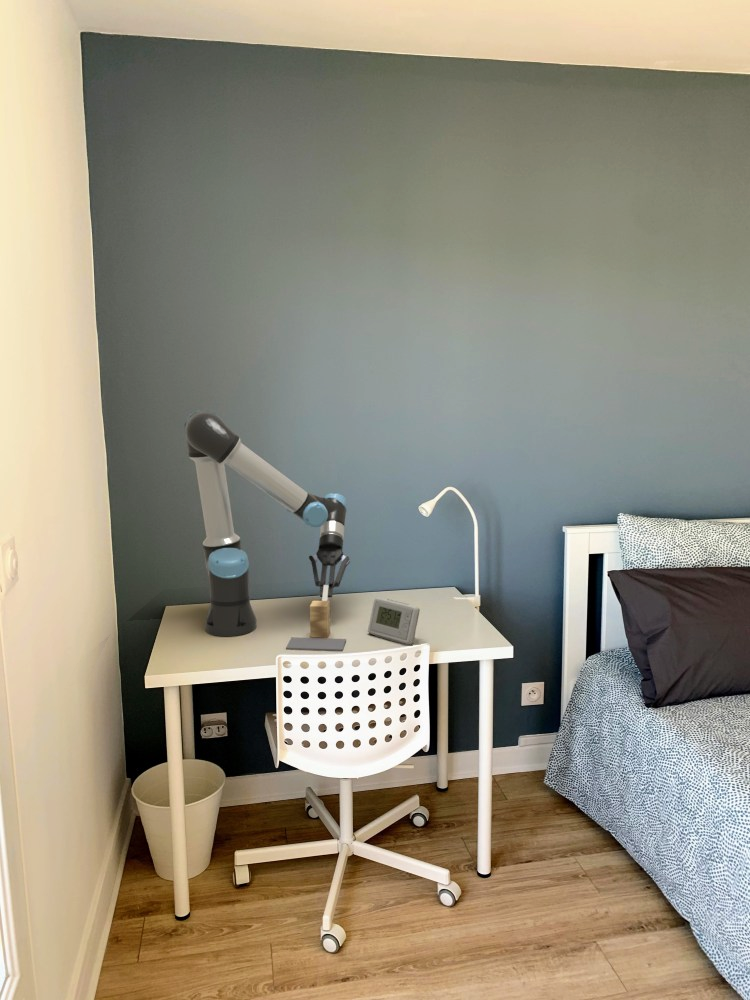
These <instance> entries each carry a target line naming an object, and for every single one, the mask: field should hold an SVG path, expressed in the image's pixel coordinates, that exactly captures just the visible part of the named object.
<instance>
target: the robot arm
mask: <svg viewBox="0 0 750 1000" xmlns="http://www.w3.org/2000/svg"><path fill="white" fill-rule="evenodd" d="M183 432H184V435H185V439H186V445H187V447H186V448H187V453H188V457H189V459H190V460H191V461H193V462H194V463H195V470H196V477H197V483H198V489H199V490H198V491H199V497H200V503H201V509H202V510H201V511H202V513H203V514H202V515H203V521H204V528H205V534H206V535H205V536H206V538H205V539H204V540H203V541H202V547H203V554H204V567H205V569H206V571H207V576H208V582H209V598H210V599H209V601H210V606H209V608H208V612H207V615H206V619H205V632H207V633H208V634H210V635H212V636H216V637H217V636H218V637H236V636H242V635H245V634H248V633H251V632H252V631H255V630H256V628H257V618H256V614H255V613H254V612H255V611H254V609H253V606H252V604H251V597H250V578H249V577H250V573H249V572H250V571H249V568H250V561H249V557H248V554H247V552H246V551H245V550H243V549H242V543H241V537H240V536H239V535H238V534H237V533H235V530H234V523H233V514H232V508H231V501H230V495H229V488H228V482H227V481H228V480H227V475H226V474H227V473H226V468H225V465H226V466H228V467H229V468H231V469H232V470H234V471H235V472H236V473H238V475H240V476H242V477H243V478H244V479H246V480H247V481H248V482H250V483H251V484H253V485H254V486H256V487H257V488H258V489H260V490H261V491H262V492H264V493H265V494H267V495H268V496H269V497H271V498H272V499H273V500H274V501H276V502H277V503H278V504H280V505H281V506H283V507H284V508H285V510H286V511H287V512H288V513H290V514H293V515H295V516H297V517H298V518H299V519H301V520H302V521H303V522H304V523H305V524H306V525H307V526H308V527H311V528H320V532H319V541H318V542H319V543H318V549H317V551H316V553H315V554H313V555H309V556H308V558H309V562H310V564H311V567H312V574H313V580H314V584H315V587H319V592H318V593H319V597H320V598H321V601H330V600H329V598H332V597H333V592H334V588H338V587H340V585H341V582H342V579H343V577H344V573H345V571H346V568H347V566H348V565H349V564H350V563H351V560H350V556H346V555H344V552H343V548H344V547H343V546H344V538H345V537H344V535H345V526H346V524H345V523H346V516H347V515H346V514H347V499H346V498H345V496H344V495H342V494H340V493H333V492H332V493H330V492H329V493H328V494H326V495H325V496H324V497H322V496H320V495H319V496H317V495H314V494H312V493H308V492H307V491H306V490H304V489H303V488H302V487H300V486H299V485H297V484H296V483H295V482H294V481H292V480H291V479H290V478H288V477H287V476H286V475H285V474H283V473H282V472H281V471H279V470H278V469H276V468H275V467H274V466H272V465H271V464H270V463H269V462H267V461H265V459H263V458H262V457H261V456H259V455H258V454H256V453H255V452H254V451H252V450H251V449H250V448H249V447H247V446H246V445H245V444H243V443H242V441H241V437H240V436H239V435H237V434H235V433H234V432H233V431H232V430H231V428H229V426H227V425H226V423H225V422H224V421H223V419H222V418H221V417H220V416H219V415H218V414H217V413H216V412H215V411H212V410H209V409H201V410H196V411H194V412H193V413H191V414H190V415H189V416H188V417H187V418H186V420H185V422H184V425H183ZM318 560H319V563H321V572H320V573H321V574H320V579H319V575H318V568H317V566H318V565H317V563H318ZM340 562H341V563H340ZM339 563H340V566H339V568H338V572H337V574H336V576H335V573H336V566H337V565H338V564H339ZM329 566H330V567H329ZM328 567H329V574H328V573H327V570H328ZM327 574H328V575H329V576H328V582H327V583H328V584H326V580H327ZM335 577H336V578H335Z"/></svg>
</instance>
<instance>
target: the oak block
mask: <svg viewBox="0 0 750 1000" xmlns="http://www.w3.org/2000/svg"><path fill="white" fill-rule="evenodd" d="M330 602H331V601H330V600H328V601H322V600H312V601H311V603H310V605H309V626H310V629H309V631H310V633H309V635H310V636H309V638H329V637H330V634H331V609H330V608H331V607H330V606H331V604H330Z"/></svg>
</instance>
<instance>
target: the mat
mask: <svg viewBox="0 0 750 1000" xmlns="http://www.w3.org/2000/svg"><path fill="white" fill-rule="evenodd" d="M346 642H347V638H329V637H328V638H311V637H290V640H289V641H288V643H287V645H286V647H285V650H289V649H290V650H289V651H291V650H292V651H293V650H294V651H298V650H299V651H320V652H322V651H326V652H327V651H329V652H343V651H344V648H345V645H346Z"/></svg>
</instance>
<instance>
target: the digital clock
mask: <svg viewBox="0 0 750 1000" xmlns="http://www.w3.org/2000/svg"><path fill="white" fill-rule="evenodd" d="M419 616H420V608H419V607H418V606H415V605H411V604H409V603H405V602H401V601H398V600H393V599H389V598H383V597H379V596H378V597H377V596H376V597H375V598H374V599H373V605H372V609H371V614H370V620H369V623H368V628H367V632H368V634H369V635H372V636H373V635H374V636H375V637H377V638H381V639H383V640H388V641H392V642H393V643H394V642H395V643H399V644H404V645H407V646H408V645H412V644H413V643H414V640H415V635H416V630H417V627H418V622H419Z"/></svg>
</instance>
